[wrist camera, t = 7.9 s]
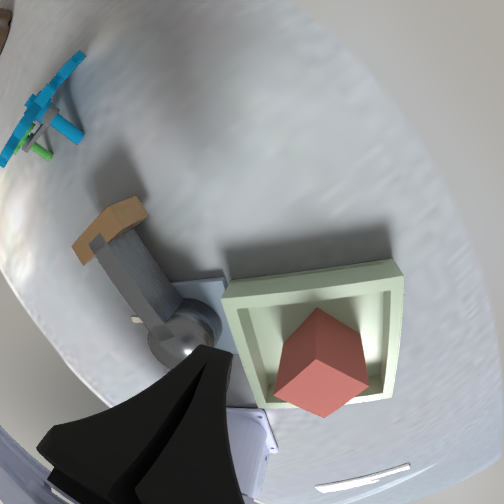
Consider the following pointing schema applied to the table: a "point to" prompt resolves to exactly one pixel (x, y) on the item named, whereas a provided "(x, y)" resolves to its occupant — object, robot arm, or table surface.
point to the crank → (147, 284)
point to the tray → (302, 305)
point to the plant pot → (4, 26)
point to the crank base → (210, 295)
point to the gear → (43, 117)
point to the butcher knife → (359, 480)
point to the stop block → (321, 365)
